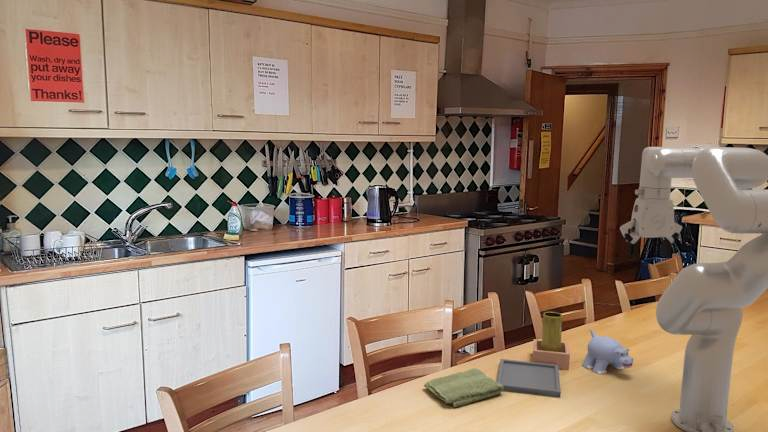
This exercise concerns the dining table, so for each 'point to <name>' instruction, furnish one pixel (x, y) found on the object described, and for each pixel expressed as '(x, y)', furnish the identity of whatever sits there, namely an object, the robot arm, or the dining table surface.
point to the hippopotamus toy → (606, 354)
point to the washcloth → (464, 387)
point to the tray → (529, 377)
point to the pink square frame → (551, 355)
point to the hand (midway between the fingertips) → (648, 257)
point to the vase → (551, 332)
